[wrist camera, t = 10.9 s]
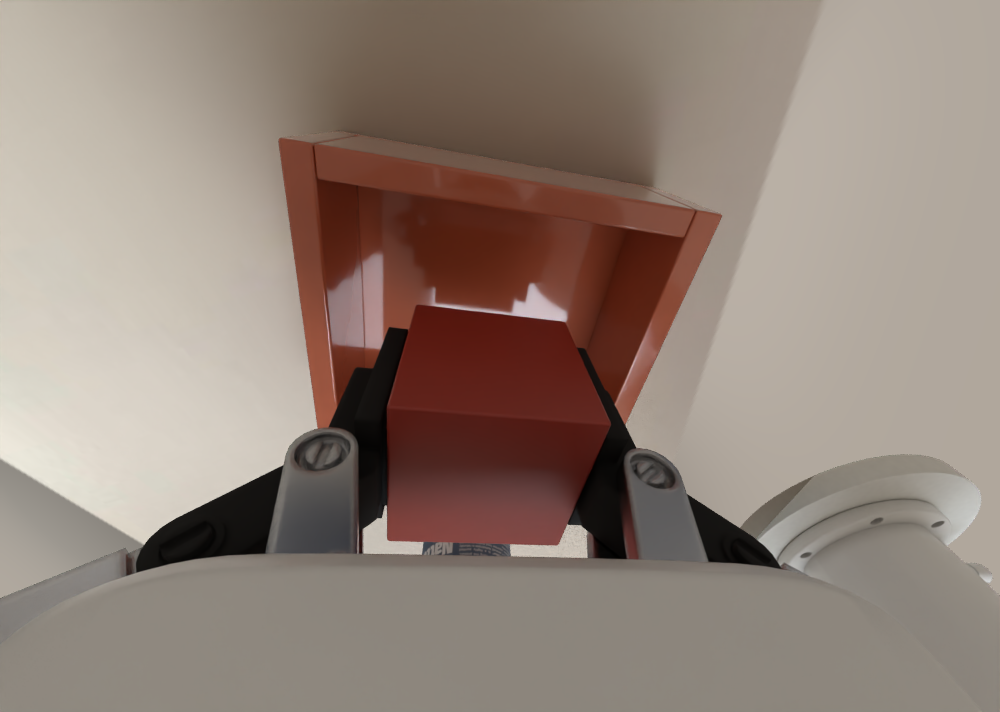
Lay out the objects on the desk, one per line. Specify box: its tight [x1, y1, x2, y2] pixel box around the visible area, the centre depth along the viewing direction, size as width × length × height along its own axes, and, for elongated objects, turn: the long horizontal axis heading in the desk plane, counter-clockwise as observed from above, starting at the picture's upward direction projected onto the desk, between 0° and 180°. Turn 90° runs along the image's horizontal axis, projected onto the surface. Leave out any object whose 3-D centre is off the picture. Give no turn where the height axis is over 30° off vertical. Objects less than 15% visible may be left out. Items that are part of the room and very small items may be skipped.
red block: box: [387, 304, 611, 545], centre depth 10 cm, size 4×4×4 cm
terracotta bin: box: [278, 131, 722, 429], centre depth 14 cm, size 12×12×5 cm
